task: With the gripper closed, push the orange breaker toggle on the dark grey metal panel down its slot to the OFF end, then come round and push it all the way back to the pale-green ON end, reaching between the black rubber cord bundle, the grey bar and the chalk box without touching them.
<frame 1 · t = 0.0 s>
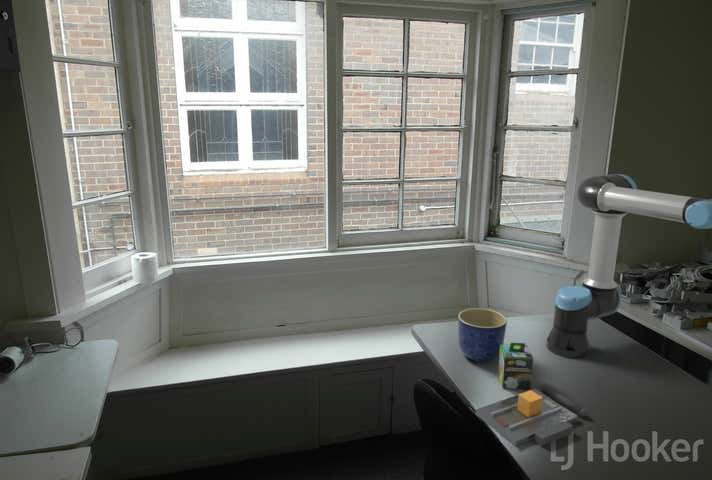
breaker panel: (525, 417, 140), on the table
cord bundle near: (562, 403, 147), on the table
chalk box: (513, 382, 159), on the table
breaker toggle: (529, 403, 140), point 4 cm above the table, slide at 5.0 cm
grey bar: (553, 437, 132), on the table
planter: (479, 356, 176), on the table
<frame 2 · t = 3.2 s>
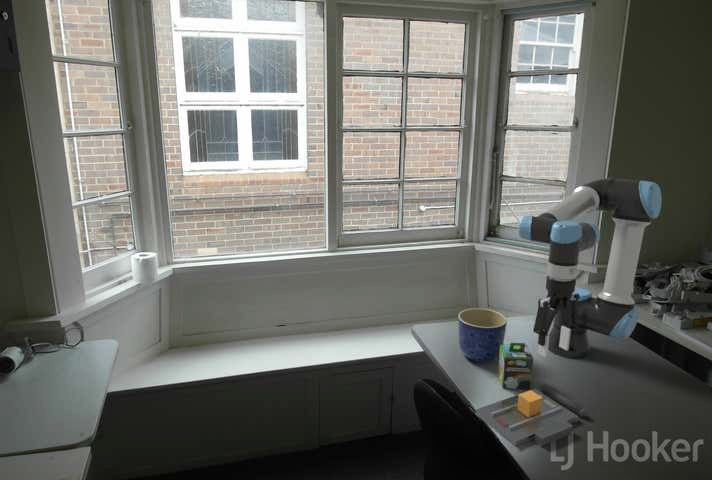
hand: (553, 351, 139), 19 cm above the table, fingers open, 8 cm apart
nothing on the table moved.
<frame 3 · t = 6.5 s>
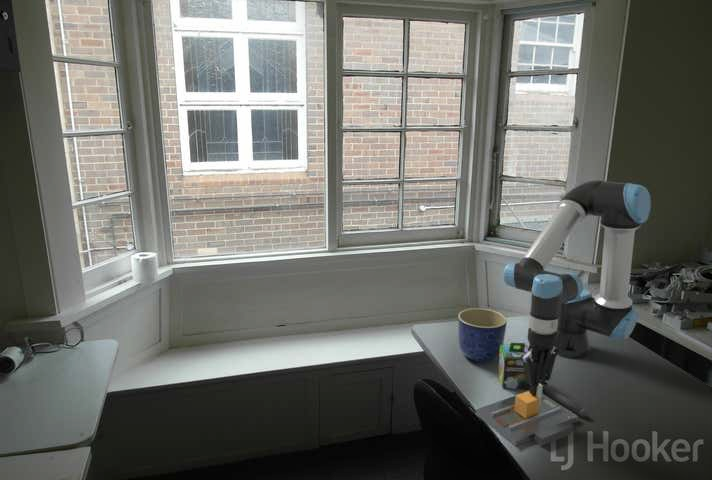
hand: (535, 403, 141), 4 cm above the table, fingers closed
breaker toggle: (526, 404, 139), point 4 cm above the table, slide at 3.9 cm, touching gripper
everything else where it was.
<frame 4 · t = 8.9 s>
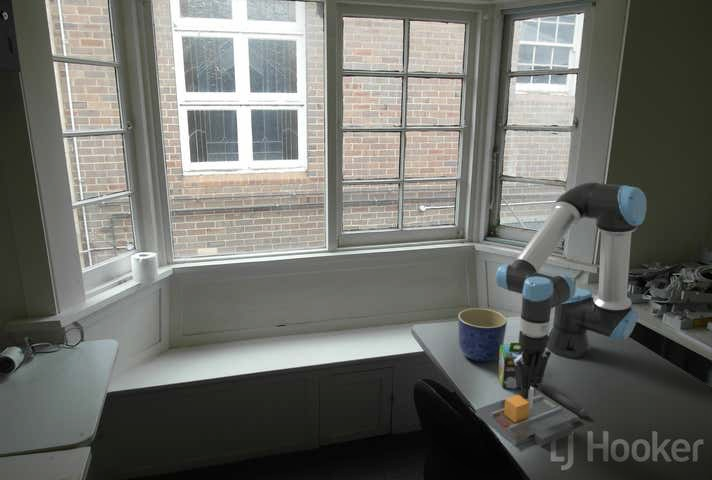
hand: (526, 406, 140), 4 cm above the table, fingers closed
breaker toggle: (516, 408, 138), point 4 cm above the table, slide at -0.1 cm
everything else where it was.
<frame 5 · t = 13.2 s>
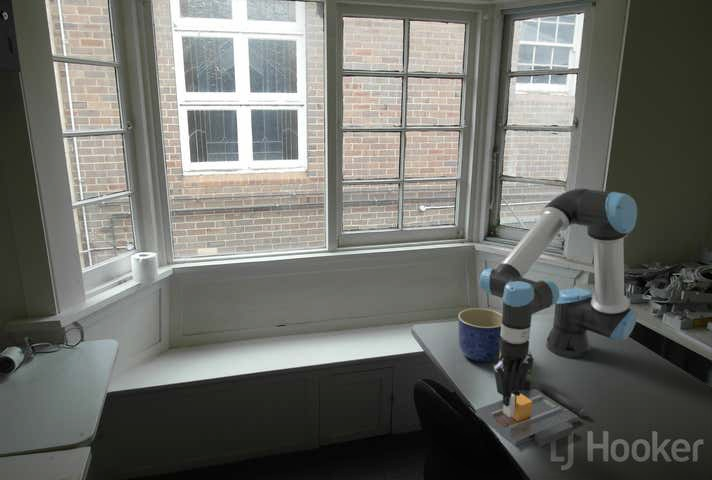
hand: (508, 414, 136), 3 cm above the table, fingers closed
breaker toggle: (519, 407, 138), point 4 cm above the table, slide at 1.0 cm, touching gripper
everything else where it was.
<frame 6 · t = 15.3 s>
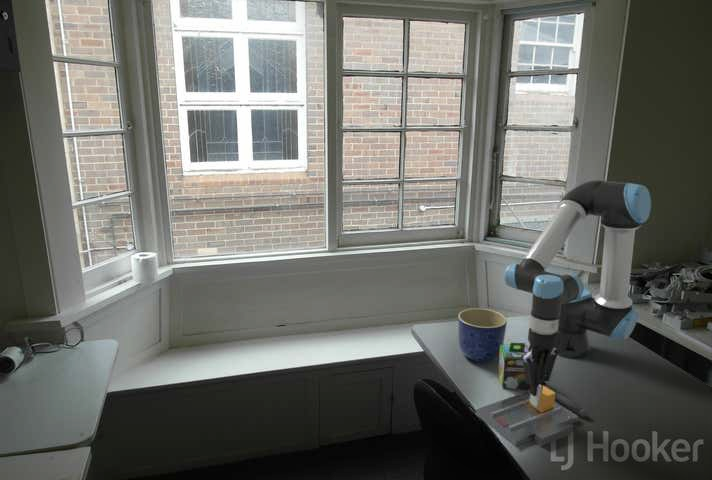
hand: (534, 403, 141), 4 cm above the table, fingers closed
breaker toggle: (542, 398, 142), point 4 cm above the table, slide at 10.2 cm, touching breaker panel, gripper
everything else where it was.
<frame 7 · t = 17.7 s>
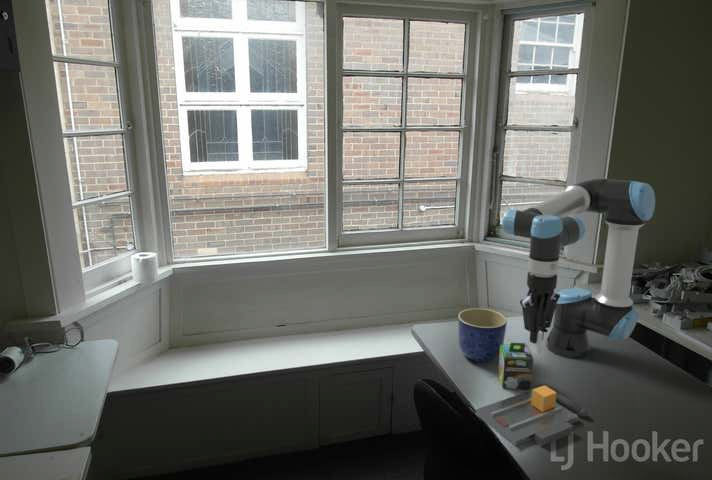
hand: (535, 351, 136), 21 cm above the table, fingers closed
breaker toggle: (543, 398, 142), point 4 cm above the table, slide at 10.7 cm, touching breaker panel
everything else where it was.
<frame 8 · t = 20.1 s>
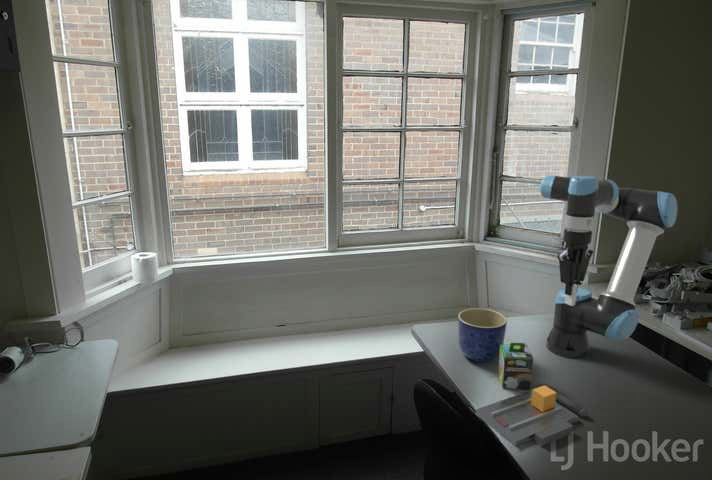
hand: (569, 304, 147), 29 cm above the table, fingers closed
nothing on the table moved.
at the end: breaker toggle slide at 10.7 cm; chalk box moved 0.3 cm from its start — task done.
